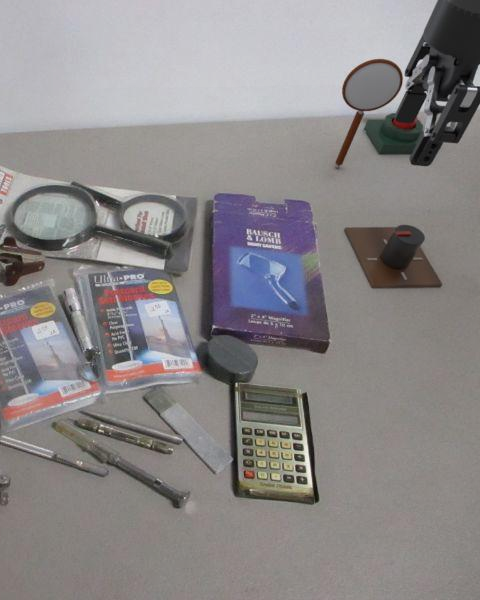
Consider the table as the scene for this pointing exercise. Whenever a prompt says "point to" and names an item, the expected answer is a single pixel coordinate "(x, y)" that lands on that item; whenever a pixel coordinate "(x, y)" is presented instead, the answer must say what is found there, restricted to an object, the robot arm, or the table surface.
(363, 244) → the panel
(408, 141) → the button box
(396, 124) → the button
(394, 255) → the knob
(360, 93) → the magnifying glass
